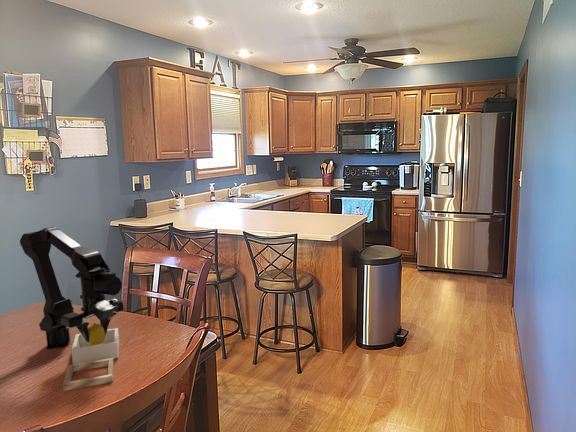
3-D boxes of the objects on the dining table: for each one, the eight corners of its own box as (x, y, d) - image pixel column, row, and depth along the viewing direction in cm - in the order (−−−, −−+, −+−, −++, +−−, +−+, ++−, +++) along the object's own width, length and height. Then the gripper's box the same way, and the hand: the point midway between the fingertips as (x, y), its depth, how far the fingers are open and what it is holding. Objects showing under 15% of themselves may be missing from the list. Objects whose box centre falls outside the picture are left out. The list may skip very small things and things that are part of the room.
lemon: (85, 346, 145) (82, 322, 144) (102, 341, 148) (100, 318, 147) (90, 352, 141) (88, 327, 139) (108, 347, 144) (106, 323, 143)
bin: (73, 365, 136) (71, 349, 136) (77, 348, 149) (76, 334, 148) (118, 357, 141) (117, 342, 140) (119, 342, 153) (118, 328, 152)
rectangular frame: (63, 390, 122) (63, 384, 121) (69, 370, 133) (68, 364, 133) (112, 381, 126) (112, 375, 125) (113, 363, 137) (113, 357, 137)
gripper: (77, 304, 130) (82, 355, 132) (132, 287, 145) (136, 333, 147) (57, 298, 136) (62, 346, 138) (112, 282, 151) (115, 327, 153)
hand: (95, 338), depth 144 cm, fingers closed on lemon, 5 cm apart
